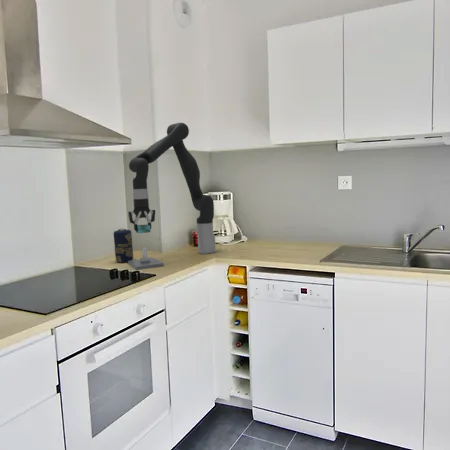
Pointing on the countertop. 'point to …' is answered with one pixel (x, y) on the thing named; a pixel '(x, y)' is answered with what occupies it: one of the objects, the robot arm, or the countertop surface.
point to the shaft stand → (145, 261)
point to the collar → (143, 228)
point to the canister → (123, 245)
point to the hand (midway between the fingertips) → (142, 230)
